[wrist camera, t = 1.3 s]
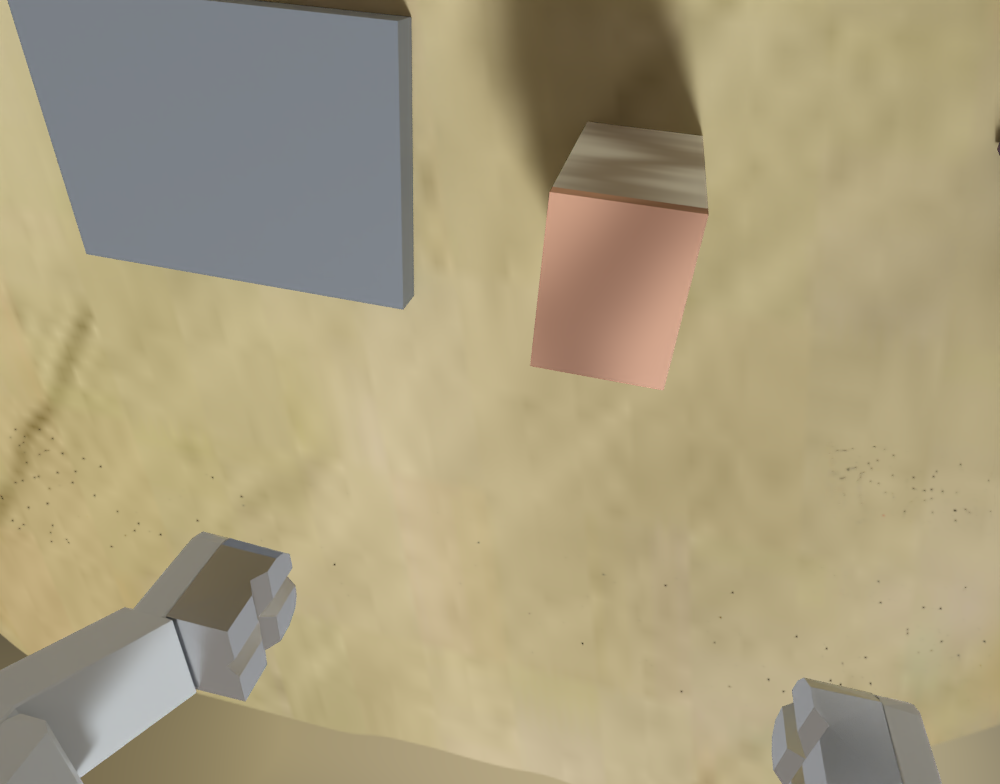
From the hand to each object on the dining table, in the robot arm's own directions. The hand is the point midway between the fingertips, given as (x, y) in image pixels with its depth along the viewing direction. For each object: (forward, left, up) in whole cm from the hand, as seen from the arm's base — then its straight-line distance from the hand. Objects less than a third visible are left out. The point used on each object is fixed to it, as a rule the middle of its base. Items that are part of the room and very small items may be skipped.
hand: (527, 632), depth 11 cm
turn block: (0, 0, -21) cm, 21 cm away
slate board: (+13, -12, -21) cm, 28 cm away
